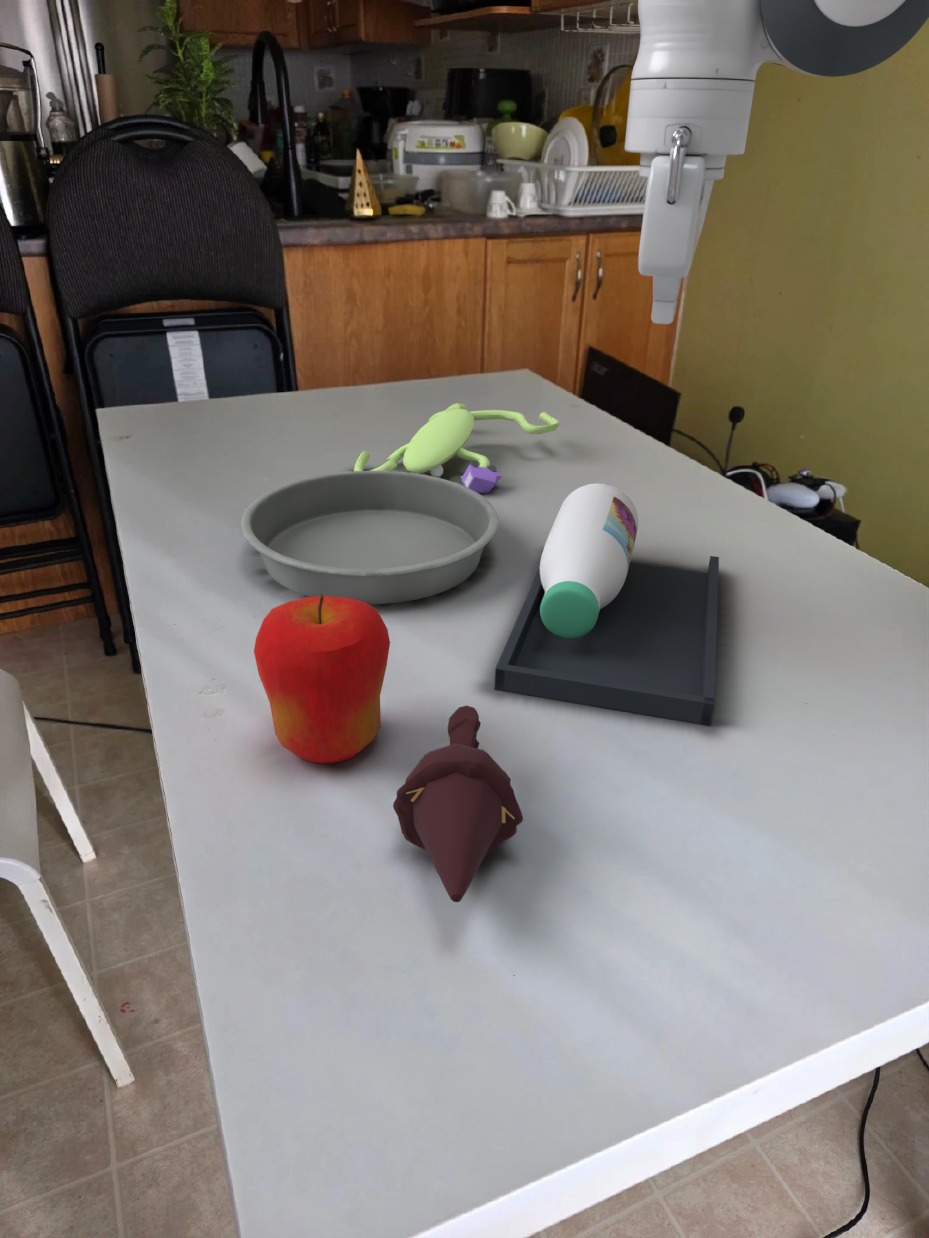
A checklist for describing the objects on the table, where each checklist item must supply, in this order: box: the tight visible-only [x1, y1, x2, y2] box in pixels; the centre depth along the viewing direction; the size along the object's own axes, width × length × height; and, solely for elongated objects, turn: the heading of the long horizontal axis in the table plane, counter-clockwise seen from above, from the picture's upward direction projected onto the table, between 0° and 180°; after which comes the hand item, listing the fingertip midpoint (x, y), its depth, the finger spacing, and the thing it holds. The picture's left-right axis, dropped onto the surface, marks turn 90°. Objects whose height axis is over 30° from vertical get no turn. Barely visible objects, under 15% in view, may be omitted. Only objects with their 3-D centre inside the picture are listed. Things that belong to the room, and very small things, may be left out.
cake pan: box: [240, 470, 500, 605], centre depth 86 cm, size 25×25×4 cm
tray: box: [494, 555, 720, 727], centre depth 76 cm, size 26×16×2 cm, turn 165°
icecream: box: [392, 705, 524, 903], centre depth 51 cm, size 7×7×15 cm
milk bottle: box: [539, 483, 639, 639], centre depth 78 cm, size 8×8×20 cm
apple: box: [253, 593, 391, 765], centre depth 58 cm, size 9×8×12 cm
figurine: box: [353, 402, 560, 494], centre depth 110 cm, size 18×27×6 cm
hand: (662, 320), depth 72 cm, fingers closed
